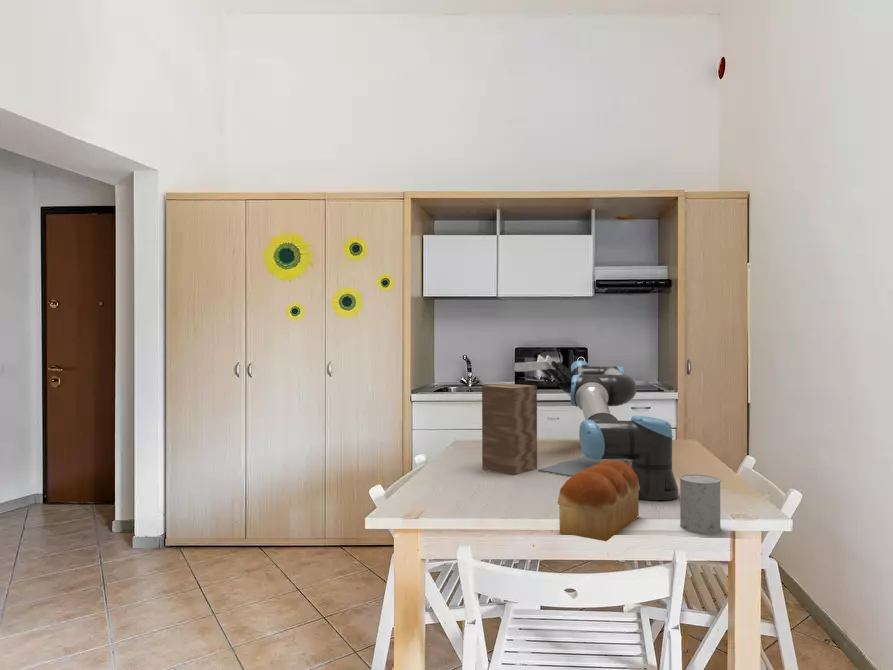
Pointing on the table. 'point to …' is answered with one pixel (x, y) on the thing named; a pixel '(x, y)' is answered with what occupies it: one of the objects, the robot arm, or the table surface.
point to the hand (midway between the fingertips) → (542, 358)
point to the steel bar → (532, 366)
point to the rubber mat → (574, 466)
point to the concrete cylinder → (700, 503)
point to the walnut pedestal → (509, 428)
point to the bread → (599, 501)
